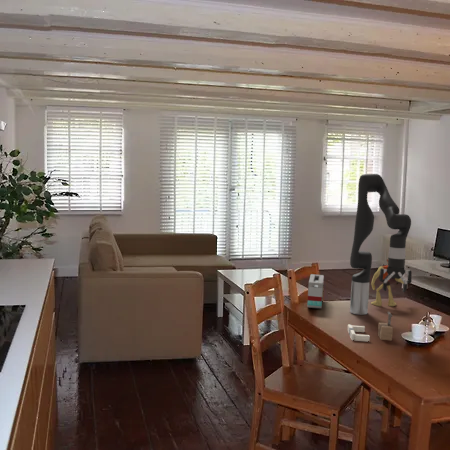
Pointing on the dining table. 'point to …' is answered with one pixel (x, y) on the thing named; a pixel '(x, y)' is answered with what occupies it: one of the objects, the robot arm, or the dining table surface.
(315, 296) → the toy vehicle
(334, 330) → the dining table surface
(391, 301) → the toy
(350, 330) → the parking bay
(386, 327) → the tan block
